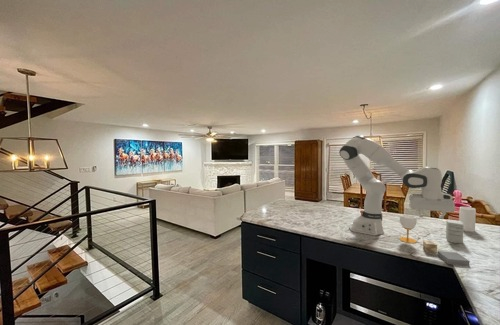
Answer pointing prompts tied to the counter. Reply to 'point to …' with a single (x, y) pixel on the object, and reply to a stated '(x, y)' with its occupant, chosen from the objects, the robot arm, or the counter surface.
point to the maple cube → (430, 246)
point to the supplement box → (454, 231)
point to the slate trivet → (453, 258)
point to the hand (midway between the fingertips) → (430, 217)
